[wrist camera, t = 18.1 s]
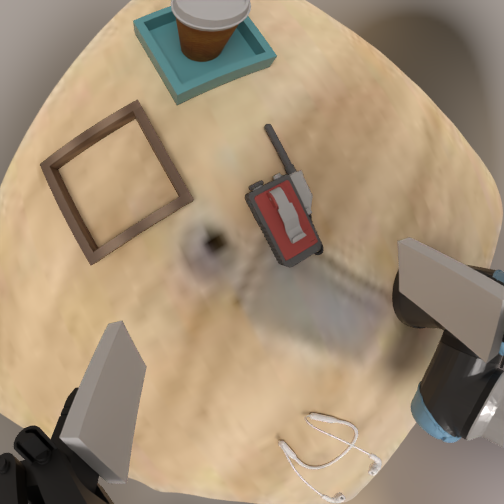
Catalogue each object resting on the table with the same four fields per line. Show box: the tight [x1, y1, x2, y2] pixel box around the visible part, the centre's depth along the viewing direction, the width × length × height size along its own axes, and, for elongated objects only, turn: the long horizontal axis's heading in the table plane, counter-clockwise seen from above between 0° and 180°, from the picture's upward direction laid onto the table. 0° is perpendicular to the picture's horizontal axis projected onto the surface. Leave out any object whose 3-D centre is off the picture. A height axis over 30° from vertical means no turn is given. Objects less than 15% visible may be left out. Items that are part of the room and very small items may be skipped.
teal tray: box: [133, 6, 277, 105], centre depth 34 cm, size 15×15×4 cm
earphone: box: [278, 413, 381, 503], centre depth 45 cm, size 14×17×18 cm
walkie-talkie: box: [245, 124, 323, 267], centre depth 39 cm, size 9×4×20 cm
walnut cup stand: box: [40, 100, 194, 265], centre depth 34 cm, size 15×15×3 cm
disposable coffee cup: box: [171, 0, 251, 62], centre depth 29 cm, size 10×10×12 cm
